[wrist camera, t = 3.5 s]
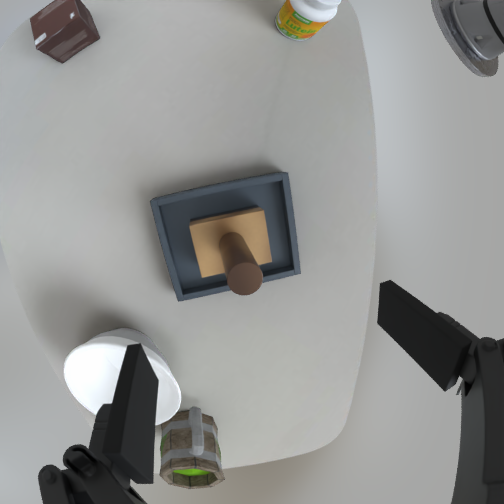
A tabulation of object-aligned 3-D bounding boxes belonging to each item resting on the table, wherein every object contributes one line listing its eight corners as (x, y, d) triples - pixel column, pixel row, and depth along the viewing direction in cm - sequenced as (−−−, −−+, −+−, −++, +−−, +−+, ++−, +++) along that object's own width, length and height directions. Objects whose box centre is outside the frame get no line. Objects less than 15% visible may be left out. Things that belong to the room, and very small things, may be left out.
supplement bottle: (272, 36, 26) (297, 0, 17) (276, 6, 25) (300, -32, 16) (313, 46, 27) (348, 17, 18) (315, 16, 26) (348, -16, 17)
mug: (213, 442, 47) (219, 489, 35) (160, 437, 44) (159, 485, 33) (227, 395, 42) (238, 452, 31) (163, 388, 40) (159, 447, 29)
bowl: (119, 395, 39) (111, 433, 31) (63, 324, 33) (41, 359, 25) (200, 373, 40) (203, 414, 32) (148, 289, 34) (136, 326, 26)
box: (91, 11, 20) (72, -13, 13) (101, 39, 22) (81, 16, 16) (53, 36, 20) (28, 18, 13) (61, 65, 22) (35, 49, 15)
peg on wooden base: (257, 204, 33) (290, 231, 21) (265, 252, 35) (298, 300, 23) (190, 219, 32) (184, 254, 20) (201, 266, 34) (203, 322, 22)
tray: (282, 171, 32) (288, 172, 30) (295, 267, 37) (301, 273, 35) (153, 198, 31) (149, 200, 29) (179, 294, 35) (178, 301, 33)
